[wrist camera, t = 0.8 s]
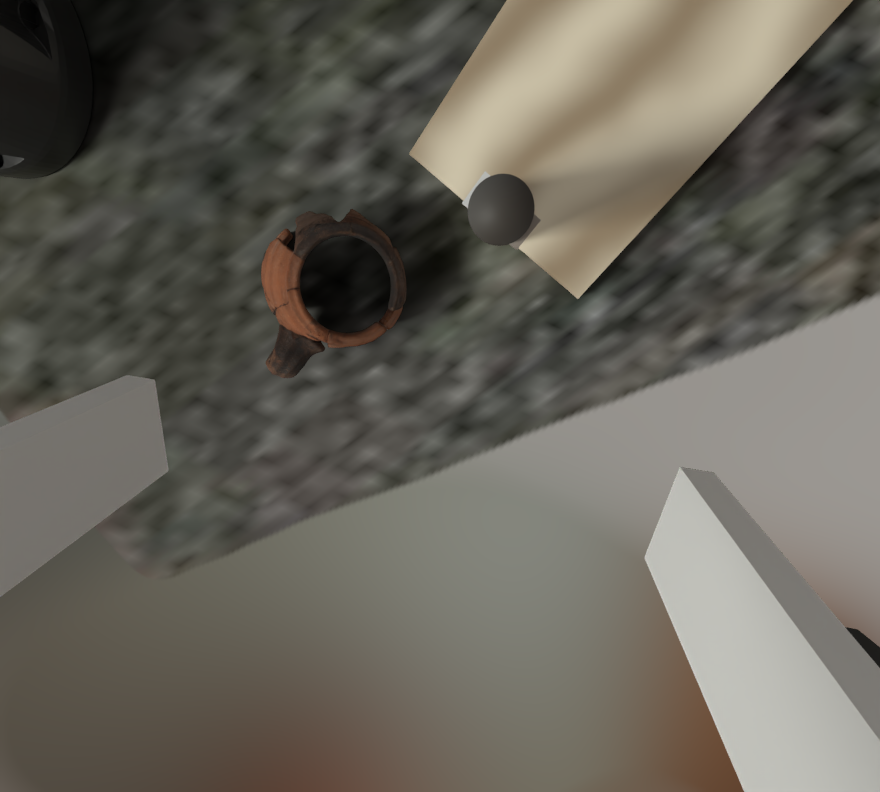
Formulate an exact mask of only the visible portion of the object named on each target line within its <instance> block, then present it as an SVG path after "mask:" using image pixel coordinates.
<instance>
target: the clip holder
mask: <svg viewBox="0 0 880 792" xmlns="http://www.w3.org/2000/svg"><path fill="white" fill-rule="evenodd" d="M852 1H853V0H507V1H506V3H505V4H504V6H503V7H502V9H501V10H500V12H499V14H498V15H497V17H496V18H495V20H494V21H493V23H492V24H491V26H490V28H489V29H488V31H487V32H486V34H485V35H484V37H483V39H482V40H481V42H480V43H479V45H478V46H477V48H476V50H475V51H474V53H473V54H472V56H471V57H470V59H469V61H468V62H467V64H466V65H465V67H464V68H463V70H462V72H461V73H460V75H459V76H458V78H457V79H456V81H455V83H454V84H453V86H452V87H451V89H450V90H449V92H448V93H447V95H446V97H445V98H444V100H443V101H442V103H441V104H440V106H439V108H438V109H437V111H436V112H435V114H434V115H433V117H432V119H431V120H430V122H429V123H428V125H427V126H426V128H425V130H424V131H423V133H422V134H421V136H420V137H419V139H418V141H417V142H416V144H415V145H414V147H413V148H412V150H411V151H410V153H409V154H410V155H411V156H412V157H413V158H414V159H416V160H417V161H418V162H419V163H420V164H421V165H423V166H424V167H425V168H426V169H427V170H428V171H430V172H431V173H432V174H433V175H434V176H435V177H437V178H438V179H439V180H440V181H441V182H442V183H444V184H445V185H446V186H447V187H448V188H449V189H451V190H452V191H453V192H454V193H455V194H456V195H457V196H459V197H460V198H461V199H462V200H463V202H462V204H463V205H464V206H465V207H467V208H468V219H469V223H470V226H471V228H472V230H473V231H474V233H475V234H476V235H477V236H478V237H479V238H480V239H481V240H482V241H484V242H486V243H488V244H491V245H498V246H501V245H508V244H510V245H511V246H512V247H513V248H514V249H516V250H517V249H518V248H519V249H520V250H521V251H523V252H524V253H525V254H526V255H527V256H528V257H530V258H531V259H532V260H533V261H534V262H535V263H537V264H538V265H539V266H540V267H541V268H542V269H544V270H545V271H546V272H547V273H548V274H549V275H551V276H552V277H553V278H554V279H555V280H556V281H558V282H559V283H560V284H561V285H562V286H563V287H565V288H566V289H567V290H568V291H569V292H570V293H572V294H573V295H574V296H575V297H576V298H577V299H578V298H579V297H580V296H581V295H582V294H583V293H584V292H585V291H586V290H587V289H588V288H589V286H590V285H591V284H592V283H593V282H594V281H595V280H596V279H597V278H598V277H599V276H600V275H601V273H602V272H603V271H604V270H605V269H606V268H607V267H608V266H609V265H610V264H611V263H612V261H613V260H614V259H615V258H616V257H617V256H618V255H619V254H620V253H621V252H622V251H623V250H624V248H625V247H626V246H627V245H628V244H629V243H630V242H631V241H632V240H633V239H634V238H635V237H636V235H637V234H638V233H639V232H640V231H641V230H642V229H643V228H644V227H645V226H646V225H647V223H648V222H649V221H650V220H651V219H652V218H653V217H654V216H655V215H656V214H657V213H658V212H659V210H660V209H661V208H662V207H663V206H664V205H665V204H666V203H667V202H668V201H669V200H670V198H671V197H672V196H673V195H674V194H675V193H676V192H677V191H678V190H679V189H680V188H681V187H682V185H683V184H684V183H685V182H686V181H687V180H688V179H689V178H690V177H691V176H692V175H693V174H694V172H695V171H696V170H697V169H698V168H699V167H700V166H701V165H702V164H703V163H704V162H705V160H706V159H707V158H708V157H709V156H710V155H711V154H712V153H713V152H714V151H715V150H716V149H717V147H718V146H719V145H720V144H721V143H722V142H723V141H724V140H725V139H726V138H727V137H728V135H729V134H730V133H731V132H732V131H733V130H734V129H735V128H736V127H737V126H738V125H739V124H740V122H741V121H742V120H743V119H744V118H745V117H746V116H747V115H748V114H749V113H750V112H751V111H752V109H753V108H754V107H755V106H756V105H757V104H758V103H759V102H760V101H761V100H762V99H763V97H764V96H765V95H766V94H767V93H768V92H769V91H770V90H771V89H772V88H773V87H774V86H775V84H776V83H777V82H778V81H779V80H780V79H781V78H782V77H783V76H784V75H785V74H786V73H787V71H788V70H789V69H790V68H791V67H792V66H793V65H794V64H795V63H796V62H797V61H798V59H799V58H800V57H801V56H802V55H803V54H804V53H805V52H806V51H807V50H808V49H809V48H810V46H811V45H812V44H813V43H814V42H815V41H816V40H817V39H818V38H819V37H820V36H821V34H822V33H823V32H824V31H825V30H826V29H827V28H828V27H829V26H830V25H831V24H832V23H833V21H834V20H835V19H836V18H837V17H838V16H839V15H840V14H841V13H842V12H843V11H844V10H845V8H846V7H847V6H848V5H849V4H850V3H851V2H852Z"/></svg>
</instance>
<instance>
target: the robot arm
mask: <svg viewBox="0 0 880 792" xmlns="http://www.w3.org/2000/svg"><path fill="white" fill-rule="evenodd" d="M92 99H93V82H92V70H91V63H90V57H89V52H88V48H87V44H86V40H85V37H84V33H83V30H82V27H81V24H80V22H79V19H78V17H77V14H76V12H75V9H74V7H73V5H72V3H71V1H70V0H0V176H4V177H13V178H23V179H30V178H38V177H43V176H46V175H49V174H51V173H53V172H55V171H57V170H59V169H60V168H61V167H63V166H64V165H65V164H66V163H67V162H69V160H70V159H71V158H72V157H73V156H74V155H75V153H76V152H77V150H78V149H79V147H80V145H81V143H82V141H83V139H84V137H85V134H86V132H87V128H88V125H89V121H90V116H91V110H92ZM166 472H168V464H167V458H166V451H165V444H164V438H163V431H162V424H161V418H160V411H159V404H158V398H157V391H156V384H155V380H153V379H147V378H141V377H135V376H129V375H126V376H124V377H121V378H119V379H117V380H114V381H112V382H109V383H107V384H104V385H102V386H99V387H97V388H95V389H92V390H90V391H87V392H85V393H82V394H80V395H78V396H75V397H73V398H70V399H68V400H65V401H63V402H60V403H58V404H56V405H53V406H51V407H48V408H46V409H43V410H41V411H39V412H36V413H34V414H31V415H29V416H26V417H24V418H22V419H19V420H17V421H14V422H12V423H9V424H7V425H5V426H2V427H0V597H1V596H2V595H3V594H5V593H6V592H7V591H9V590H10V589H11V588H13V587H14V586H15V585H17V584H18V583H19V582H21V581H22V580H23V579H25V578H26V577H27V576H29V575H30V574H31V573H33V572H34V571H35V570H37V569H38V568H39V567H41V566H42V565H43V564H45V563H46V562H47V561H49V560H50V559H51V558H53V557H54V556H55V555H57V554H58V553H59V552H61V551H62V550H63V549H65V548H66V547H67V546H68V545H70V544H71V543H73V542H74V541H75V540H77V539H78V538H79V537H81V536H82V535H83V534H85V533H86V532H87V531H89V530H90V529H91V528H93V527H94V526H95V525H97V524H98V523H99V522H101V521H102V520H103V519H105V518H106V517H108V516H109V515H110V514H112V513H113V512H114V511H116V510H117V509H118V508H120V507H121V506H122V505H124V504H125V503H126V502H128V501H129V500H130V499H132V498H133V497H134V496H136V495H137V494H138V493H140V492H141V491H142V490H144V489H145V488H146V487H148V486H149V485H150V484H152V483H153V482H154V481H156V480H157V479H158V478H160V477H161V476H162V475H164V474H165V473H166ZM645 560H646V563H647V565H648V567H649V570H650V572H651V574H652V577H653V579H654V581H655V584H656V586H657V588H658V591H659V593H660V595H661V598H662V600H663V602H664V604H665V607H666V609H667V612H668V614H669V616H670V619H671V621H672V623H673V626H674V628H675V630H676V633H677V635H678V637H679V640H680V642H681V644H682V647H683V649H684V652H685V654H686V656H687V659H688V661H689V663H690V666H691V668H692V670H693V672H694V675H695V677H696V680H697V682H698V684H699V687H700V689H701V691H702V694H703V696H704V698H705V701H706V703H707V705H708V708H709V710H710V712H711V715H712V717H713V719H714V722H715V724H716V726H717V729H718V731H719V734H720V736H721V738H722V740H723V743H724V745H725V747H726V750H727V752H728V755H729V757H730V759H731V761H732V763H733V766H734V769H735V771H736V773H737V775H738V778H739V780H740V782H741V785H742V787H743V790H744V792H880V647H879V646H877V645H876V644H875V643H874V642H872V641H871V640H870V639H869V638H867V637H866V636H865V635H864V634H862V633H861V632H860V631H859V630H857V629H852V628H846V627H844V625H843V624H842V623H841V622H840V621H839V619H838V618H836V616H835V615H834V614H833V612H832V611H831V610H830V609H829V608H828V607H827V605H826V604H825V603H824V602H823V601H822V599H821V598H820V597H819V596H818V595H817V594H816V592H815V591H814V590H813V589H812V588H811V586H810V585H809V584H808V583H807V582H806V581H805V579H804V578H803V577H802V576H801V575H800V574H799V573H798V571H797V570H796V569H795V568H794V567H793V565H792V564H791V563H790V562H789V561H788V559H787V558H786V557H785V556H784V555H783V553H782V552H781V551H780V550H779V549H778V548H777V546H776V545H775V544H774V543H773V542H772V541H771V539H770V538H769V537H768V536H767V535H766V533H764V531H763V530H762V529H761V528H760V526H759V525H758V524H757V523H756V522H755V521H754V519H753V518H752V517H751V516H750V515H749V514H748V512H747V511H746V510H745V509H744V508H743V507H742V505H741V504H740V503H739V502H738V501H737V499H736V498H735V497H734V496H733V495H732V493H731V492H730V491H729V490H728V489H727V488H726V486H724V484H723V483H722V482H721V480H720V479H719V478H718V477H717V476H716V475H715V473H713V472H708V471H702V470H696V469H690V468H684V467H680V468H679V470H678V473H677V476H676V478H675V481H674V483H673V486H672V489H671V491H670V493H669V496H668V499H667V501H666V504H665V506H664V509H663V511H662V514H661V517H660V519H659V522H658V524H657V527H656V529H655V532H654V534H653V537H652V540H651V542H650V545H649V547H648V550H647V552H646V555H645Z"/></svg>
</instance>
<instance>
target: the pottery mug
mask: <svg viewBox="0 0 880 792" xmlns="http://www.w3.org/2000/svg"><path fill="white" fill-rule="evenodd" d="M296 224H297V228H296V232H295V233H296V239H295V246H294V251H293V250H291V249H290V248H289V247H287V245H288V243H289V242H290V241H291V239H292V238H293V235H292V234H291V233H290V231H289V230H288V229H284V230H283V231H282V232H281V233H280V234H279V235H278V236H277V238H276V239H275V240H274V241H272V242H271V243H270V245H269V247H268V249H267V251H266V252H265V254H264V258H263V262H262V270H261V278H262V285H263V287H264V292H265V296H266V300H267V303H268V305H269V307H270V310H271V311H272V313H273V314H274V315H276V317H277V319H278V322H279V323H280V325H279V333H278V337H277V341H276V344H275V347H274V349H273V351H272V353H271V354H270V356H269V357H268V359H267V360H266V365H267V367H268V369H269V371H271V373H272V374H274V375H277V376H280V377H282V378H292V377H294V376H296V375H297V374H298V372H299V371H300V370H301V369H302V368H303V367H304V365H305V364H306V362H307V361H308V359H309V358H310V357H311V356H312V355H314V354H316V353H319V352H323V351H324V350H325V347H324V346H323V344H322V343H321V341H323V342H326V343H328V347H332V348H338V347H339V348H340V347H347V346H349V347H350V346H359V345H363V344H366V343H369V342H372V341H374V340H375V339H377V338H378V337H380V336H381V335H383V334H384V333H385V332H386V331H387V329H390V328H392V327H393V326H394V324H395V323H396V321H397V320H398V318H399V316H400V314H401V312H402V309H403V304H404V303H405V301H406V276H405V270H404V266H403V262H402V260H401V257H400V255H399V252H398V250H397V249H396V248H395V247H392V244H391V241H390V239H389V237H388V236H387V235H386V234H385V233H384V232H383V231H382V230H380V229H379V228H378V227H377V226H375V225H373V224H372V223H371V222H370V221H368V220H367V219H366V218H365V217H363V216H362V215H361V214H360V213H358V212H356V211H355V210H353V209H351V210H350V212H349V213H348V214H347V215H346V217H345V218H344V219H343V220H342V221H340V222H337V221H336V220H334V219H333V218H332V217H331V216H328V215H326V214H322V213H321V214H315V213H313V212H311V211H308V212H306V213H304V214H302V215H300V216H298V217H297V218H296ZM339 236H351V237H355V238H358V239H361V240H363V241H365V242H367V243H368V244H369V245H371V246H372V247H373V248H374V249H375V250H377V252H378V253H379V254H380V255H381V257H382V258H383V260H384V261H385V263H386V266H387V268H388V271H389V275H390V280H391V294H390V300H389V304H388V310H387V311H386V313H385V315H384V316H383V317H382V319H381V320H380V321H379V322H375V323H374V324H373V325H371V326H370V327H368V328H366V329H364V330H362V331H358V332H354V333H340V332H336V331H333V330H330V329H327V328H325V327H323V326H322V325H321V324H319V323H318V322H317V321H316V320H315V319H314V318H313V317H312V316H311V315H310V313H309V312H308V310H307V309H306V307H305V305H304V303H303V300H302V296H301V292H300V276H301V270H302V267H303V265H304V262H305V259H306V257H307V256H308V254H309V253H310V252H311V251H312V250H313V249H314V248H315V247H316V246H317V245H318V244H320V243H321V242H323V241H325V240H328V239H330V238H334V237H339Z"/></svg>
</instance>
